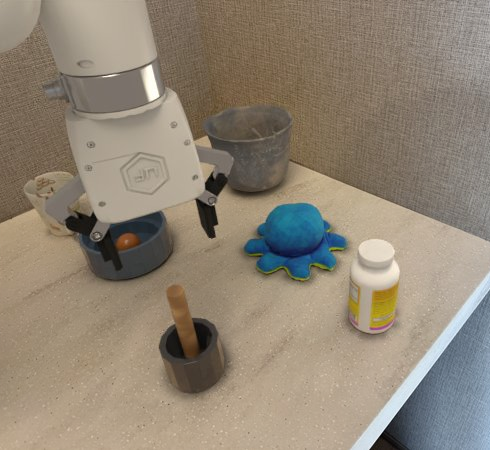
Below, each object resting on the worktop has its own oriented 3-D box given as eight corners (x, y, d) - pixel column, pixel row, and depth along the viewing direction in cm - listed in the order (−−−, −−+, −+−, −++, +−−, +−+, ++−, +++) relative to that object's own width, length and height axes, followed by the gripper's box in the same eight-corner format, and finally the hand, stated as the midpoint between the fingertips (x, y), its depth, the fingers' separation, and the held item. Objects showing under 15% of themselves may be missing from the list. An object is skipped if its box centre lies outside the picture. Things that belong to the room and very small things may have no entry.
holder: (177, 403, 54) (167, 374, 51) (163, 360, 60) (153, 330, 56) (232, 378, 57) (226, 349, 54) (214, 339, 62) (207, 309, 59)
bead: (122, 263, 75) (115, 245, 73) (118, 250, 78) (111, 232, 76) (145, 256, 77) (139, 237, 75) (141, 243, 80) (135, 225, 77)
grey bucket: (287, 212, 87) (283, 142, 78) (202, 206, 90) (189, 138, 81) (301, 168, 101) (299, 104, 92) (227, 164, 104) (218, 102, 95)
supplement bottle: (400, 311, 65) (410, 243, 58) (384, 342, 61) (392, 273, 53) (359, 295, 68) (363, 228, 61) (340, 324, 64) (341, 256, 56)
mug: (82, 209, 91) (65, 166, 85) (104, 237, 83) (87, 192, 77) (39, 226, 86) (18, 182, 81) (58, 257, 78) (36, 210, 73)
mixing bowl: (95, 293, 71) (83, 265, 67) (85, 245, 81) (74, 218, 77) (182, 263, 76) (175, 236, 72) (162, 222, 86) (155, 196, 82)
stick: (191, 375, 57) (168, 299, 49) (187, 364, 58) (163, 288, 50) (206, 369, 58) (185, 292, 49) (201, 358, 59) (180, 282, 51)
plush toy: (276, 295, 69) (272, 254, 64) (232, 239, 81) (226, 201, 76) (362, 257, 75) (365, 217, 70) (310, 210, 87) (309, 173, 82)
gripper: (-5, 125, 30) (81, 300, 41) (232, 76, 36) (254, 239, 47) (-2, 93, 36) (73, 254, 46) (203, 55, 42) (229, 205, 52)
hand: (164, 246), depth 46 cm, fingers open, 9 cm apart
